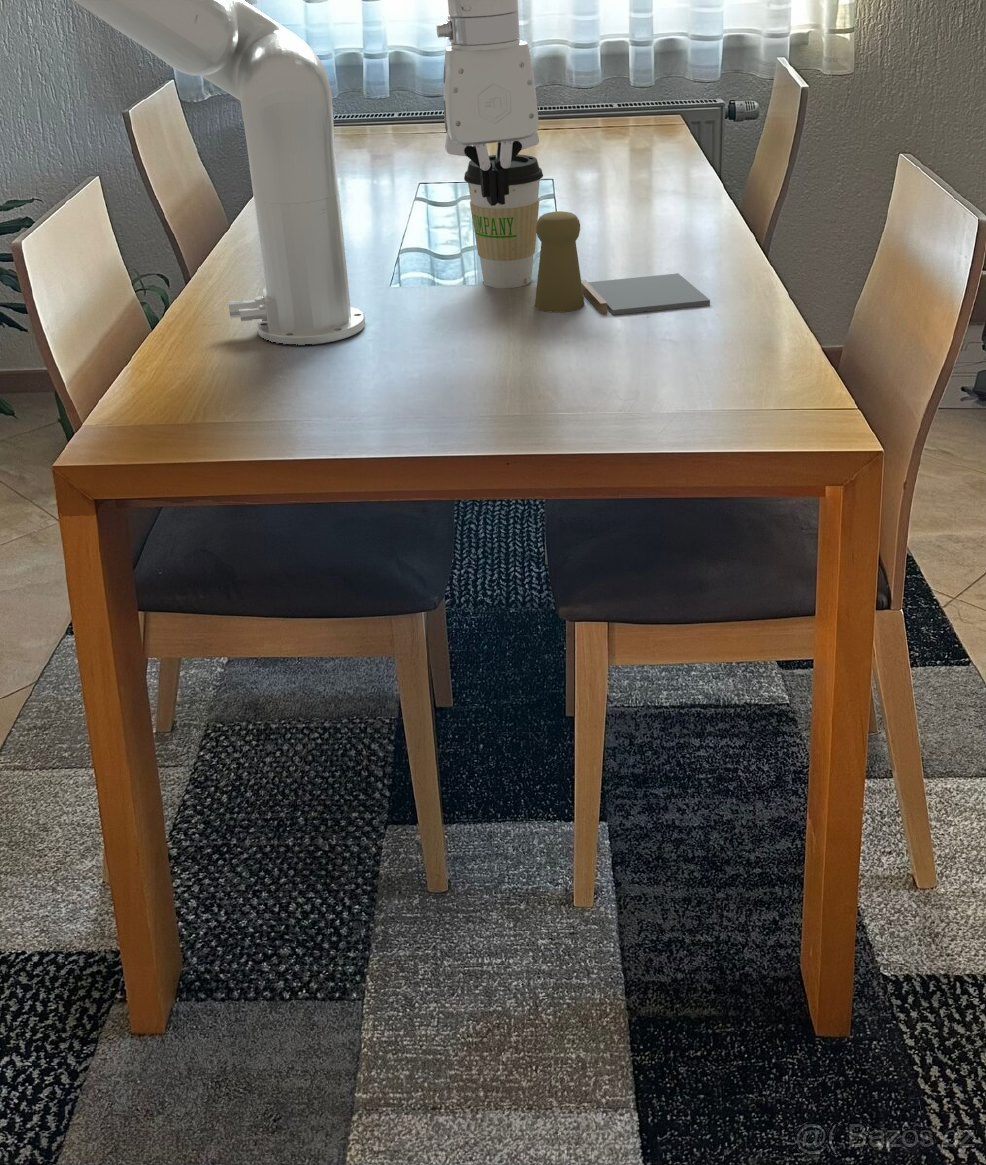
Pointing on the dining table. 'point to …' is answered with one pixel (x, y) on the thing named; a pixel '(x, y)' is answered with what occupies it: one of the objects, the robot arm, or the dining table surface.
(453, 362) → the dining table surface
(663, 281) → the charcoal mat
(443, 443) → the dining table surface
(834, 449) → the dining table surface
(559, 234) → the cork
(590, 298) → the walnut strip
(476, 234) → the coffee cup
